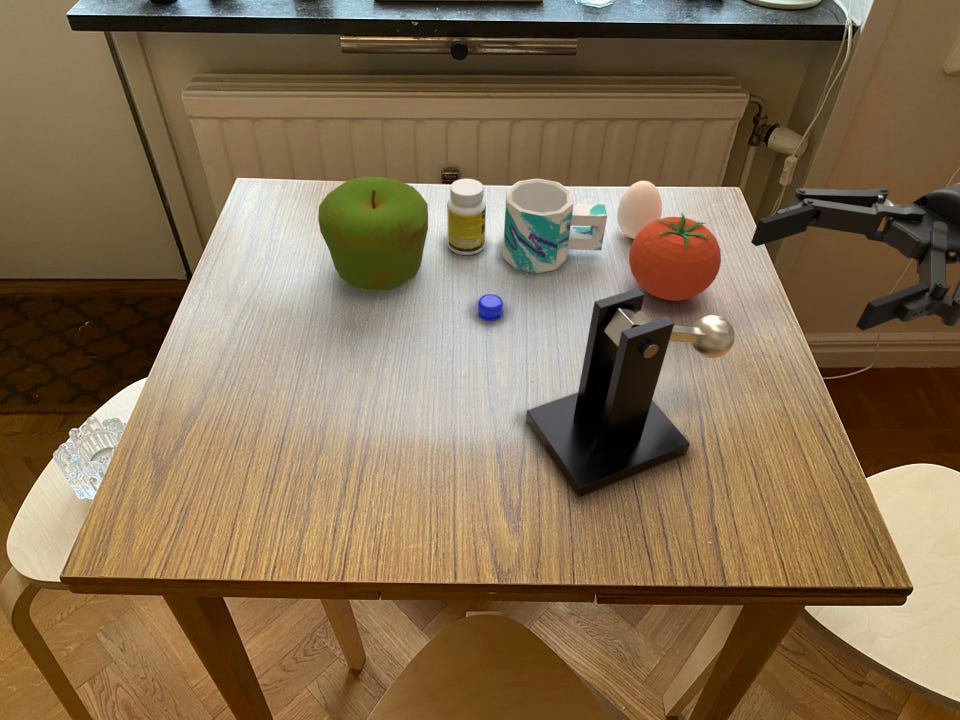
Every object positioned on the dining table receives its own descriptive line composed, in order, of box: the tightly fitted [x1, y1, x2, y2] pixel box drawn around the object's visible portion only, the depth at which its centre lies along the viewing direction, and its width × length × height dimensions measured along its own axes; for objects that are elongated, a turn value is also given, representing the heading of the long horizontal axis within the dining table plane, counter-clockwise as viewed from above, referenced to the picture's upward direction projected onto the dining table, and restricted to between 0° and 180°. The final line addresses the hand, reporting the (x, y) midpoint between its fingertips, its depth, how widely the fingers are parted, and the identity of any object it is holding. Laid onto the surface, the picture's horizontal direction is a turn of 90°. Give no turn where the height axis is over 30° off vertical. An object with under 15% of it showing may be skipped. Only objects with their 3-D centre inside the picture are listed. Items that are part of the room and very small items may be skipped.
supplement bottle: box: [446, 178, 487, 256], centre depth 87 cm, size 5×5×8 cm
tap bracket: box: [525, 287, 691, 498], centre depth 63 cm, size 12×10×16 cm
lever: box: [604, 308, 735, 360], centre depth 62 cm, size 14×4×4 cm, turn 116°
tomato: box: [628, 212, 722, 302], centre depth 81 cm, size 10×10×10 cm
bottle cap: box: [476, 293, 504, 322], centre depth 80 cm, size 3×3×2 cm
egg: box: [616, 180, 663, 240], centre depth 90 cm, size 6×6×8 cm
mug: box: [502, 178, 608, 274], centre depth 86 cm, size 8×12×8 cm
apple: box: [317, 176, 429, 291], centre depth 82 cm, size 12×12×11 cm
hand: (807, 272), depth 65 cm, fingers open, 13 cm apart
